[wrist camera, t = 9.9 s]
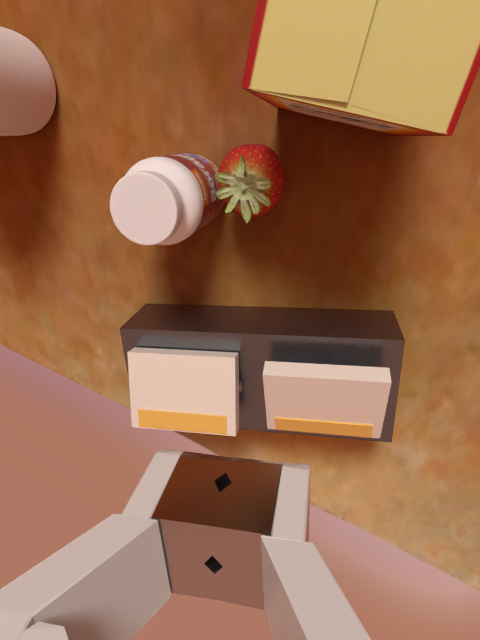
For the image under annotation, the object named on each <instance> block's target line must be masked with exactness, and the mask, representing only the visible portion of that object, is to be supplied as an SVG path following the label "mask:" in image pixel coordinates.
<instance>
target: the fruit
mask: <svg viewBox="0 0 480 640" xmlns="http://www.w3.org/2000/svg"><path fill="white" fill-rule="evenodd" d="M214 177H215V178H216V180H217V187H218V190H217V191H216V195H217V198H218V200H222V202H223V203H224V205H225V206H226V207H227V208H226V210H225V213H229V212H231V211H233V212H234V213H236V214H238V215H241V216H243V218H244V220H245V222H246V223H248V222H249V220H250V219H251V218H257V217H260V216H263V215H266V214H267V213H268V212H269V211H271V210H272V209H273V208H274V206H275V205H276V204H277V203H278V201H279V200H280V198H281V196H282V194H283V191H284V187H285V174H284V170H283V166H282V164H281V161H280V159H279V158H278V156H277V155H276V153H275V152H274V151H273V150H271V149H270V148H269V147H267V146H264V145H259V144H253V145H242V146H238V147H235V148H234V149H233V150H232V151H230V152H229V153H228V154H227V155H226V157H225V158H224V160H223V161H222V163H221V165H220V167H219V170H218V172H217V173H215V176H214Z"/></svg>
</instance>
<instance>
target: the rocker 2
mask: <svg viewBox="0 0 480 640" xmlns="http://www.w3.org/2000/svg"><path fill="white" fill-rule="evenodd" d="M263 385H264V396H265V407H266V419H267V429H275V430H285V431H297V432H308V433H320V434H332V435H344V436H355V437H367V438H380V436H381V431H382V426H383V421H384V416H385V412H386V407H387V402H388V397H389V392H390V388H391V376H390V369H389V368H385V367H366V366H348V365H329V364H311V363H292V362H274V361H265V364H264V370H263Z"/></svg>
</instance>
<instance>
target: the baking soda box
mask: <svg viewBox="0 0 480 640" xmlns="http://www.w3.org/2000/svg"><path fill="white" fill-rule="evenodd" d="M479 67H480V0H258V2H257V7H256V13H255V18H254V24H253V29H252V34H251V40H250V45H249V51H248V56H247V61H246V67H245V72H244V78H243V83H242V88H243V89H245V90H247V91H248V92H250V93H252V94H254V95H255V96H257V97H259V98H261V99H263V100H264V101H266V102H268V103H270V104H271V105H273V106H275V107H277V108H279V109H284V110H288V111H292V112H297V113H301V114H305V115H309V116H314V117H318V118H322V119H327V120H331V121H335V122H340V123H344V124H348V125H353V126H357V127H361V128H365V129H370V130H374V131H378V132H383V133H387V134H391V135H396V136H452V134H453V131H454V129H455V126H456V124H457V121H458V119H459V116H460V114H461V111H462V109H463V106H464V104H465V101H466V99H467V96H468V94H469V91H470V89H471V86H472V84H473V81H474V79H475V77H476V74H477V72H478V69H479Z"/></svg>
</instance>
